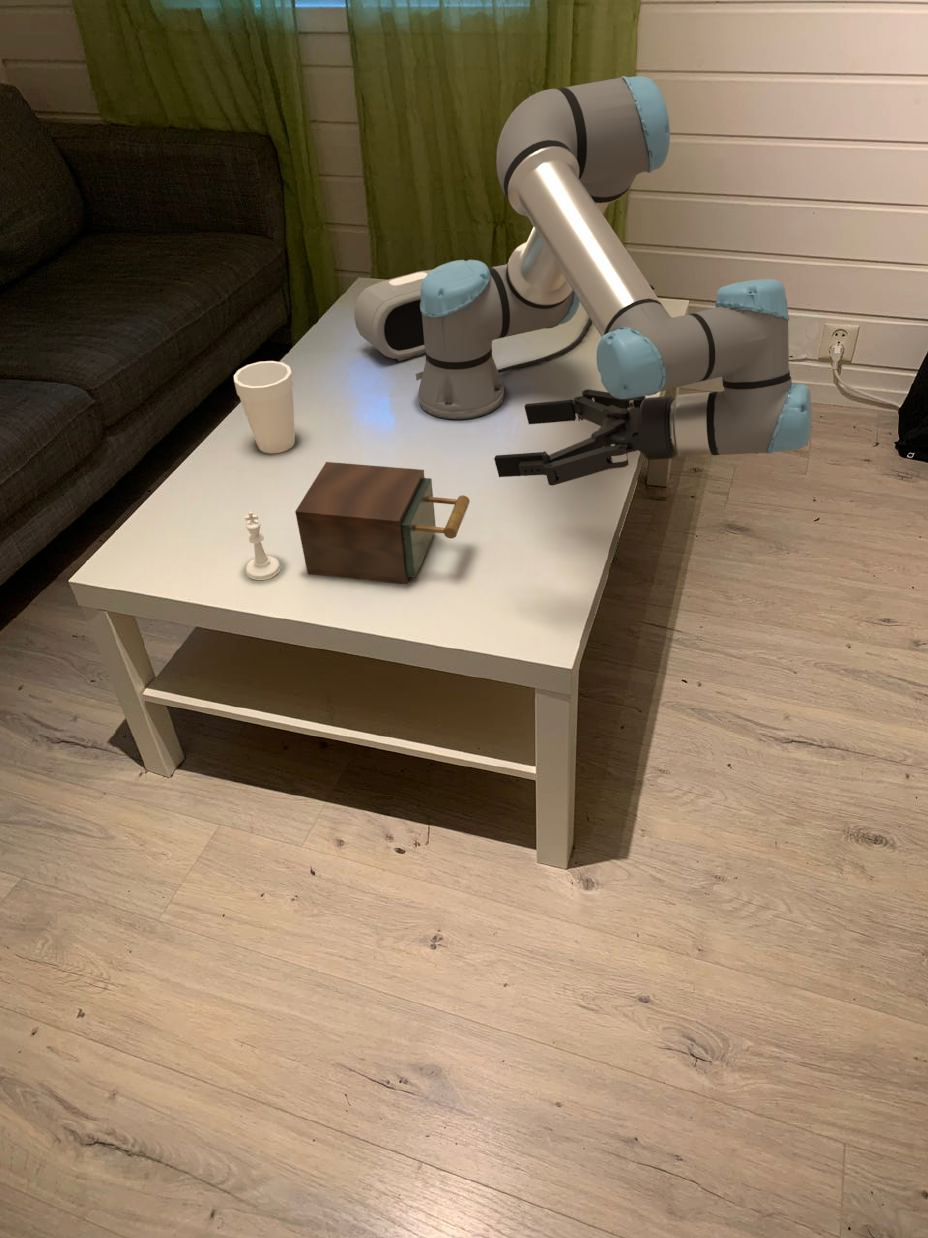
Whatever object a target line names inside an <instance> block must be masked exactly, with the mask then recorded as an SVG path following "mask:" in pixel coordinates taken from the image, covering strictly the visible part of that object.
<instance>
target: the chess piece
mask: <svg viewBox="0 0 928 1238" xmlns="http://www.w3.org/2000/svg"><path fill="white" fill-rule="evenodd" d="M244 520H245V521H247V523H246V524H245V528H246V529H247V531H248V532H249V534H250V535H249V536H248V541H249V543H251V544H253V547H254V548H253V549H254V558H253V559H251V560H250V561H249V562H248V563H247V565H246V568H245V570H246V575H247V577H248V578H249V579H251V580H255V581H266V580H269V579H271V578H274V577H276V576H277V575H278V574H279V573H280V571H281V564H280V561H279V559H277V558H276V557H275V556H271V555H266V552H265V549H264V546H263V544H262V542H263V541H264V539H265V536H264V535H263V534H262V533H261V531H260V530H261V521H259V516H258V514H253V511H248V515H245V516H244Z"/></svg>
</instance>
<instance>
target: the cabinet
mask: <svg viewBox="0 0 928 1238" xmlns="http://www.w3.org/2000/svg"><path fill="white" fill-rule="evenodd" d="M423 478H426V477H425V469H420V468H419V469H417V468H408V467H407V468H405V467H395V466H394V467H393V466H383V465H382V466H381V465H369V464H357V463H346V462H333V461H326V462H325V463H324V465H323V466H322V468H321V470H320V471H319V473H318V474H317V475H316V478H315V479H314V480H313V482H312V484H311V485H310V487H309V488H308V490H307V491H306V493H305V495H304V497H303V498H302V500H301V502H299V504H298V506H297V508H296V510H295V511H294V513H295V516H296V523H297V528H298V532H299V533H298V534H299V538H300V542H301V543H300V544H301V548H302V551H303V552H302V554H303V558H304V563H305V567H306V573H307V574H309V575H319V576H325V577H326V576H329V577H337V578H346V579H355V580H363V581H373V582H374V581H375V582H381V583H391V584H393V583H394V584H401V585H407V583H408V581H409V579H410V578H411V577H410V576H407V570H406V561H405V553H404V544H403V536H402V527H401V524H402V521H403V518H404V516H405V514H406V512H407V510H408V508H409V506H410V504H411V502H412V500H413V498H414V497H415V495H416V493H417V491H418V488H419V486H420V484H421V482H422V480H423Z"/></svg>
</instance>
